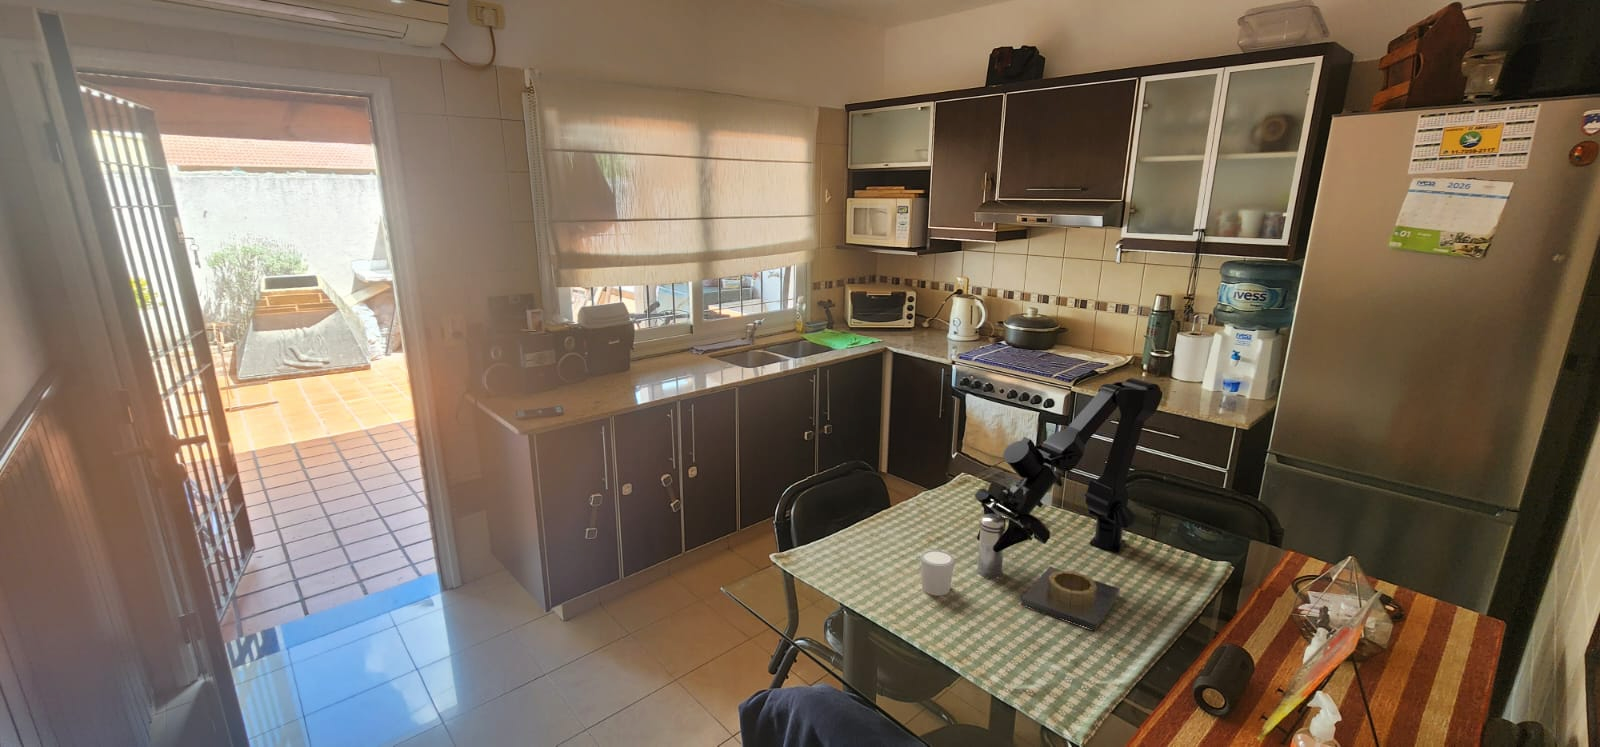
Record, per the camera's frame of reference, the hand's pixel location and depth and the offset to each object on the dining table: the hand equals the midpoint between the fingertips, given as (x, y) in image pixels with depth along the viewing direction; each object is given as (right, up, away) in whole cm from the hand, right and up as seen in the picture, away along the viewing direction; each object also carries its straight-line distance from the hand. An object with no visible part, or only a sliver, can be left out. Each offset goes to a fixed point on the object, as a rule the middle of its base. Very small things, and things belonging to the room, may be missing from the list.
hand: (986, 545), depth 142 cm
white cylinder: (-12, -8, -4) cm, 15 cm away
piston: (+1, -6, +2) cm, 7 cm away
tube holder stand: (+15, -9, -8) cm, 19 cm away
